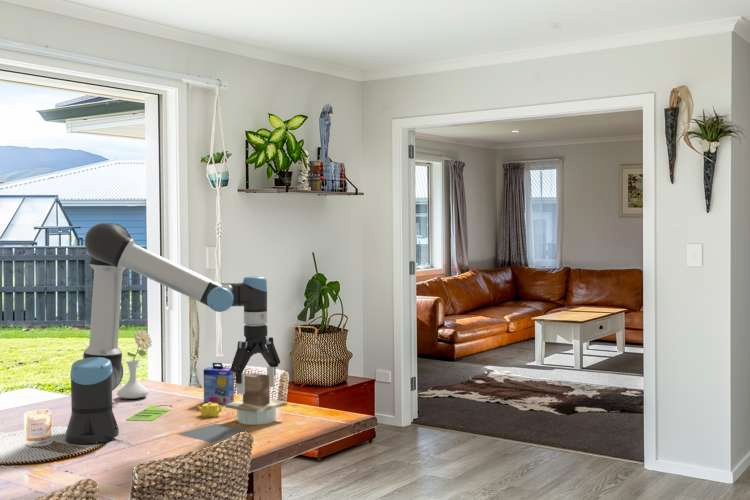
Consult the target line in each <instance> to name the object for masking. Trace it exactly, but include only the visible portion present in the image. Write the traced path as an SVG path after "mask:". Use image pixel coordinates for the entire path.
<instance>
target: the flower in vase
mask: <svg viewBox="0 0 750 500" xmlns="http://www.w3.org/2000/svg"><path fill="white" fill-rule="evenodd" d="M134 340H135V344H136V345H137V346H138V347H137V349H136V352H135V353H131V352H130V351H127V356H128V357H131V358H133V359H126V360H125V363H126V364H127V367H128V370H129V372H128V373H129V379H128V381H127V382H126V383H125V384H124V385H123V386H122V387H121V388H119V390H117V393H116V395H117V396H118V397H119V398H121V399H126V400H127V399H129V400H130V399H131V400H132V399H140V398H144V397H146V396H148V394H149V389H148V388H147V387H146V386H144V385H143V384H142V383H140V382H139V381H138V379H137V366H138V364H139V362H140V359H136V356H137V355H139V356H140V357H144V356H146V355H148V353H147V351H145V350H148V349H149V348H151V346H152V342H153V341H152V339H151V337H150V335H149V333H148V332H146V331H145V330H144V329H142V330H140V329H138V330H137V332H135V333H134ZM139 348H141V349H139Z"/></svg>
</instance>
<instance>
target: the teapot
mask: <svg viewBox="0 0 750 500" xmlns="http://www.w3.org/2000/svg"><path fill="white" fill-rule="evenodd" d="M197 408H198V410H199V411H200V417H202V418H203V417H204V418H213V417H214V418H216V417H217V416H218V415H219V413H221V412H223V410H222V409H223V408H222V405H219V403H212V402H208V403H204V404H202V405H201V406H200V405H197Z"/></svg>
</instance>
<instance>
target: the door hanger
mask: <svg viewBox="0 0 750 500" xmlns="http://www.w3.org/2000/svg"><path fill="white" fill-rule="evenodd" d="M154 405H155V406H152V405H150V406H148V407H146V408H144V409H142V410H140V411H139V412H137V413H135V414H133V415H131V416H130V417H128V418H126V419H125V420H126V421H132V422H135V421H136V422H139V421H140V422H142V421H143V422H153V421H155V420H157V419H159V418H160V417H162V416H163V414H164V415H165V414H167V413H169V412H170V411H171V410H170V409H169V408H159V407H158V408H157V407H156V404H154ZM168 411H169V412H168Z"/></svg>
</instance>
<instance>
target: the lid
mask: <svg viewBox="0 0 750 500" xmlns="http://www.w3.org/2000/svg"><path fill="white" fill-rule="evenodd" d="M270 396H271V395H270V387H269V375H267V374H262V373H255V372H254V373H249V374H245V394H242V399H241V400H238V401H232V402H231V403H228V404H225V405H224V407H225V408H228V409H230V410H231V409H232V410H236V411H237V410H242V411H247V412H252V413H259V412H263V411H267V410H271V409H274V408H276V409H277V408H281V407H285V406H288V402H287V401H284V400H283V401H282V400H277V399H271V398H270Z"/></svg>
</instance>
